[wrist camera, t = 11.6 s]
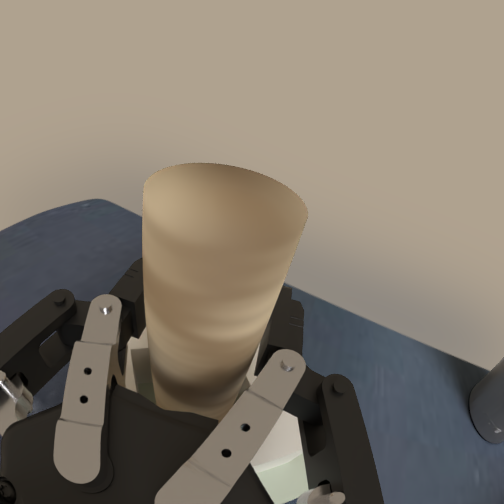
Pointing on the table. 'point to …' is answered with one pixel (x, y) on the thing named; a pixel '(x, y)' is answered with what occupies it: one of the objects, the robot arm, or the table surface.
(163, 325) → the peg
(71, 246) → the table surface
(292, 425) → the socket
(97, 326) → the robot arm
